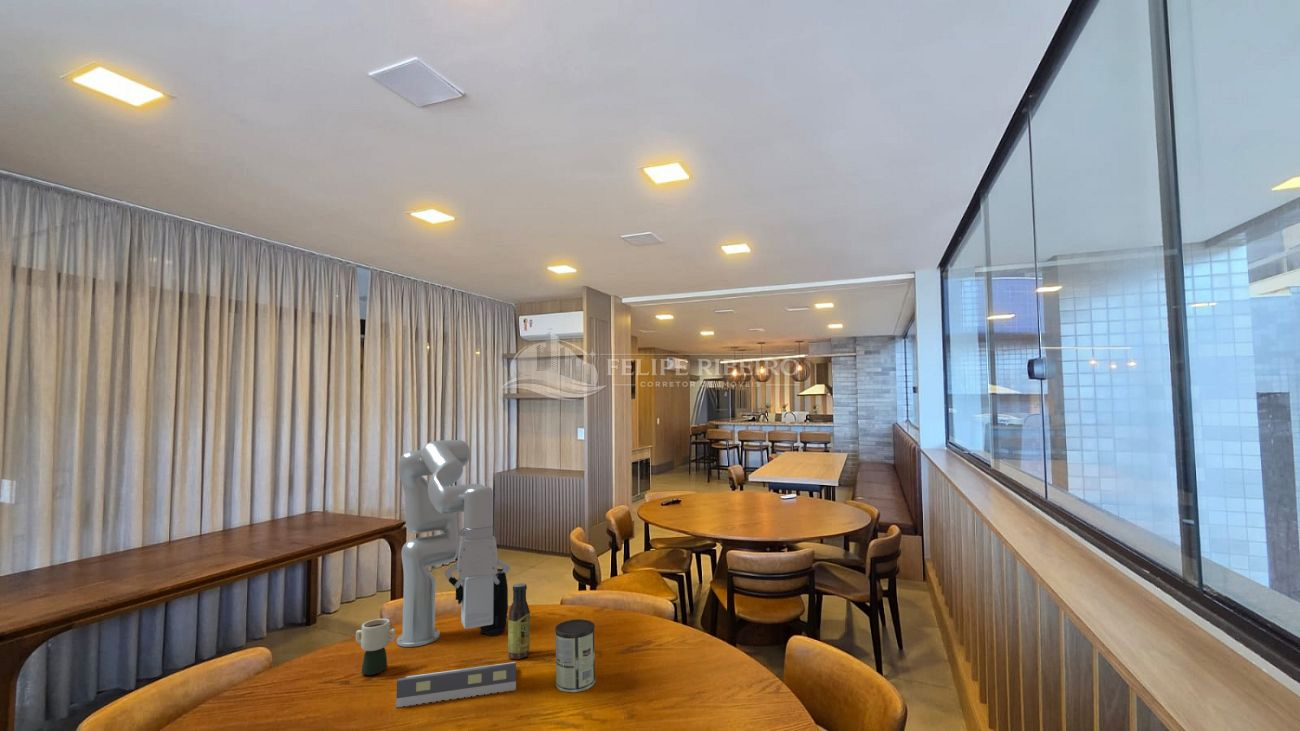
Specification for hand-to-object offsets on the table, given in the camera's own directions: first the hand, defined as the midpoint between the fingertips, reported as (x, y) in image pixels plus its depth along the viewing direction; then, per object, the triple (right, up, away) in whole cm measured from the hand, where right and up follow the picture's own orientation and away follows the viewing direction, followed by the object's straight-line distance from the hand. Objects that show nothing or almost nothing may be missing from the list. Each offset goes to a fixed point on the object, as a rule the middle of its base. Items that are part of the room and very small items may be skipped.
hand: (477, 600), depth 140 cm
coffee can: (+27, -20, -4) cm, 34 cm away
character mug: (-31, -23, +6) cm, 38 cm away
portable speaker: (-6, -25, +33) cm, 42 cm away
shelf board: (-3, -20, -5) cm, 21 cm away
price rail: (-2, -18, -9) cm, 20 cm away
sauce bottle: (+8, -23, +14) cm, 28 cm away
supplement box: (0, -6, -1) cm, 6 cm away
